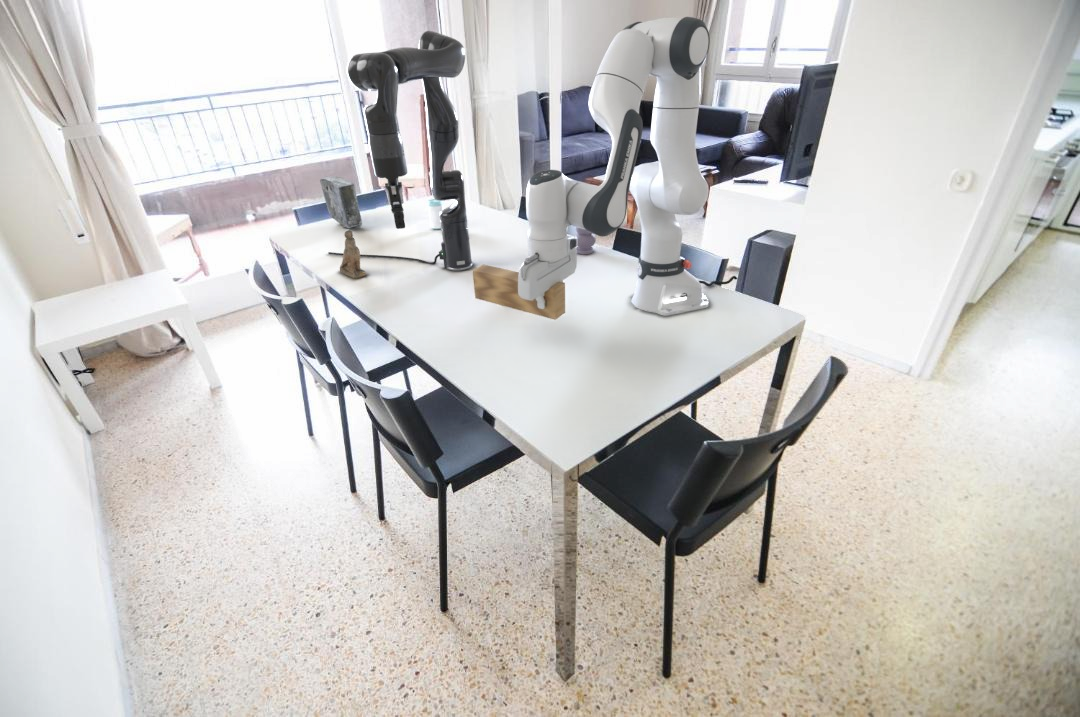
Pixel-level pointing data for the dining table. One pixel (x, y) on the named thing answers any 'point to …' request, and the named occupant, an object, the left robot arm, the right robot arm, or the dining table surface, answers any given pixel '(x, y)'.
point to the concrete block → (341, 201)
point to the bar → (515, 292)
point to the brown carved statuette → (351, 258)
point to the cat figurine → (584, 241)
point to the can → (435, 213)
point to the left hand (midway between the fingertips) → (400, 223)
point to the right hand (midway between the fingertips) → (549, 302)
